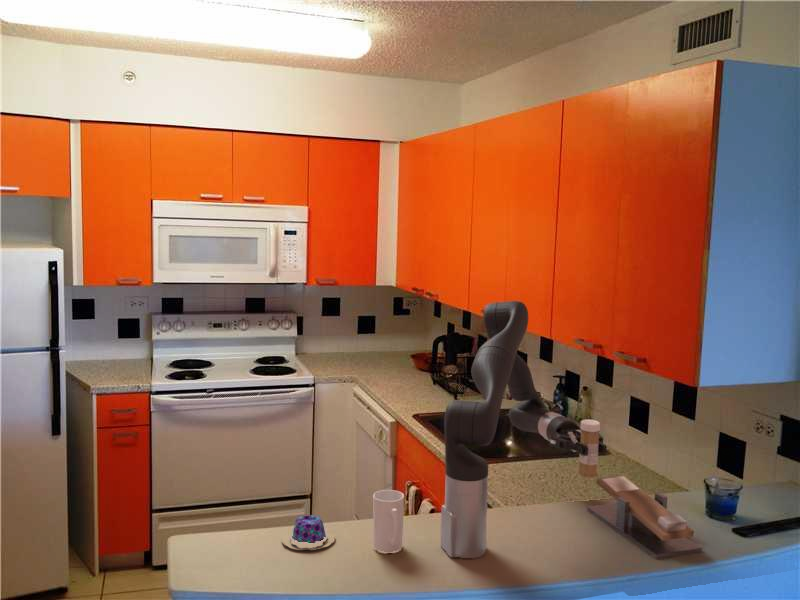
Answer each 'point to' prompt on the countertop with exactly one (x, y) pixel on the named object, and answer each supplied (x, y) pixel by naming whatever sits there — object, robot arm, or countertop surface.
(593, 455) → the sprinkles bottle
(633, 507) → the balance beam
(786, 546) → the countertop surface
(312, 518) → the pudding
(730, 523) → the countertop surface
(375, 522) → the mug
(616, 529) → the stand
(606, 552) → the countertop surface
